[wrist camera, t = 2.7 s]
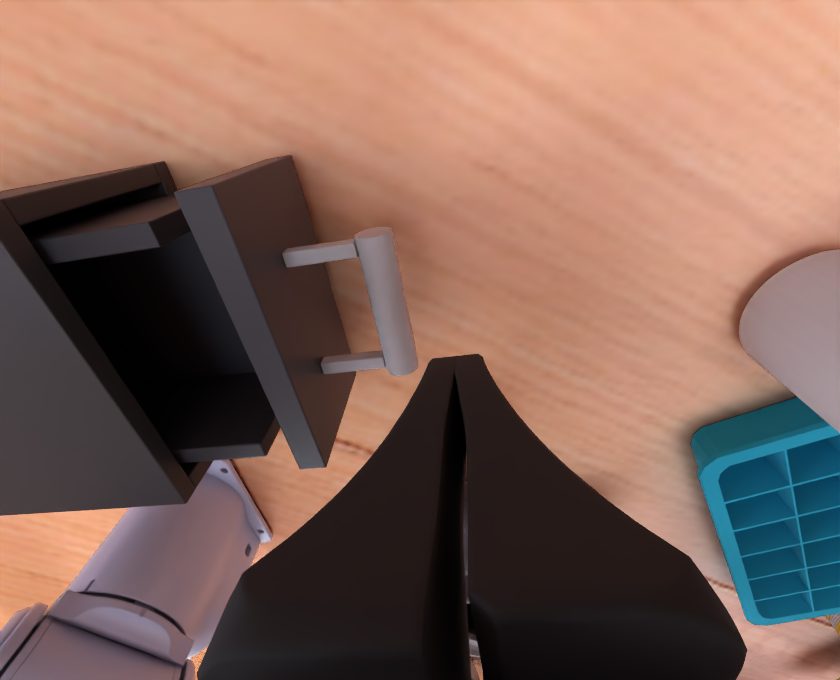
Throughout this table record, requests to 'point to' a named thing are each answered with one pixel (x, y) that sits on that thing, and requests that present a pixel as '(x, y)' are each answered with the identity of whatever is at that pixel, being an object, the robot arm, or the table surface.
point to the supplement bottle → (835, 621)
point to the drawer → (228, 311)
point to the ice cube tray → (776, 508)
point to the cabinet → (72, 374)
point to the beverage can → (800, 331)
